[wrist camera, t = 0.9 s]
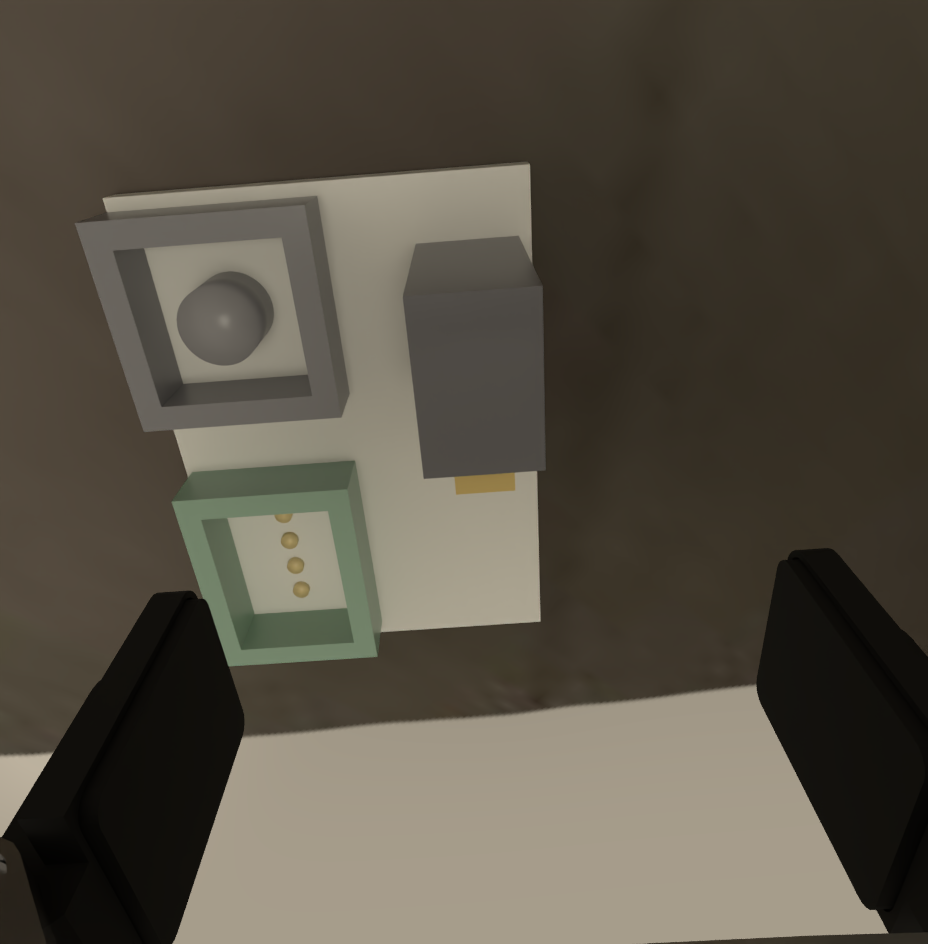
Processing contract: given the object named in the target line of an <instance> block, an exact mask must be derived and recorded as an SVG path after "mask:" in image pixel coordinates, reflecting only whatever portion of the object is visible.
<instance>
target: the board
mask: <svg viewBox="0 0 928 944" xmlns="http://www.w3.org/2000/svg"><path fill="white" fill-rule="evenodd" d="M103 201H104V204H105V208H106V211H107V213H104V214H101V215H98V216H95V217H92V218H89V219H86V220H83V221H80V222H77V223H75V225H76V228H77V231H78V234H79V237H80V240H81V243H82V246H83V249H84V252H85V255H86V258H87V261H88V264H89V267H90V270H91V273H92V276H93V280H94V283H95V286H96V289H97V292H98V295H99V298H100V301H101V304H102V307H103V310H104V313H105V316H106V319H107V322H108V325H109V328H110V331H111V334H112V337H113V340H114V343H115V346H116V349H117V352H118V355H119V358H120V361H121V364H122V367H123V370H124V373H125V376H126V379H127V382H128V385H129V388H130V391H131V395H132V398H133V401H134V404H135V407H136V410H137V413H138V416H139V419H140V422H141V425H142V428H143V431H144V432H149V431H163V430H174V433H175V436H176V439H177V442H178V446H179V449H180V452H181V456H182V459H183V462H184V465H185V469H186V472H187V475H188V477H189V476H190V474H191V473H192V472H200V471H214V470H228V469H242V468H256V467H270V466H284V465H298V464H312V463H327V462H341V461H355V463H356V469H357V474H358V480H359V486H360V492H361V498H362V504H363V510H364V516H365V522H366V528H367V534H368V540H369V546H370V552H371V557H372V563H373V569H374V575H375V581H376V587H377V593H378V599H379V605H380V611H381V617H382V626H381V632H389V631H404V630H419V629H434V628H450V627H465V626H480V625H495V624H511V623H526V622H540V582H539V538H538V494H537V471H530V472H516V473H515V491H502V492H487V493H473V494H459V495H456V490H455V478H454V477H445V478H431V479H424V477H423V469H422V460H421V451H420V443H419V434H418V425H417V417H416V408H415V399H414V391H413V382H412V373H411V365H410V356H409V347H408V339H407V330H406V321H405V313H404V304H403V293H404V289H405V285H406V281H407V277H408V273H409V269H410V265H411V261H412V257H413V253H414V249H415V245H416V244H418V243H431V242H444V241H457V240H470V239H482V238H495V237H508V236H519V238H520V240H521V242H522V244H523V246H524V248H525V250H526V252H527V254H528V256H529V258H530V260H531V262H532V233H531V189H530V164H529V163H528V162H514V163H502V164H489V165H477V166H464V167H452V168H439V169H427V170H414V171H402V172H389V173H377V174H364V175H352V176H339V177H327V178H314V179H301V180H289V181H276V182H264V183H251V184H239V185H226V186H214V187H201V188H189V189H176V190H164V191H151V192H139V193H126V194H116V195H112V196H109V197H105V198H103ZM227 519H228V522H229V526H230V529H231V533H232V536H233V540H234V544H235V547H236V551H237V554H238V558H239V561H240V565H241V568H242V572H243V575H244V579H245V582H246V586H247V589H248V593H249V596H250V600H251V603H252V607H253V610H254V614H266V613H281V612H296V611H311V610H326V609H341V608H347V605H346V600H345V595H344V590H343V585H342V580H341V575H340V570H339V565H338V559H337V554H336V549H335V544H334V539H333V534H332V529H331V524H330V519H329V514H328V511H321V512H306V513H293V515H292V518H291V520H290V521H289V522H287V523H280V522H278V521H277V520H276V519H275V517H274V515H263V516H249V517H234V518H227ZM286 532H293V533H295V534H296V535H297V536H298V538H299V541H298V544H297V546H296V547H295V548H293V549H287V548H284V547H283V546H282V544H281V538H282V536H283V534H284V533H286ZM293 557H298V558H301V559H302V560H303V561H304V568H303V571H302V572H301V573H299V574H293V573H291V572H289V571H288V569H287V564H288V561H289V560H290V559H291V558H293ZM300 581H302V582H306V583H307V584H308V585H309V586H310V591H309V594H308V596H306V597H304V598H299V597H297V596H295V595H294V593H293V588H294V585H295V584H296V583H297V582H300Z"/></svg>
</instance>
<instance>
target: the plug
mask: <svg viewBox="0 0 928 944" xmlns="http://www.w3.org/2000/svg"><path fill="white" fill-rule="evenodd" d="M403 304H404V313H405V321H406V330H407V339H408V347H409V356H410V365H411V373H412V382H413V391H414V399H415V408H416V417H417V425H418V434H419V443H420V451H421V460H422V469H423V477H424V479H431V478H445V477H454V478H455V490H456V495H459V494H473V493H487V492H502V491H515V473H516V472H530V471H545V470H546V460H545V397H544V334H543V285H542V283H541V281H540V279H539V277H538V275H537V273H536V271H535V269H534V267H533V265H532V262H531V260H530V258H529V256H528V254H527V252H526V250H525V248H524V246H523V244H522V242H521V240H520V238H519V236H508V237H495V238H482V239H470V240H457V241H444V242H431V243H418V244H416V245H415V249H414V253H413V257H412V261H411V265H410V269H409V273H408V277H407V281H406V285H405V289H404V293H403Z"/></svg>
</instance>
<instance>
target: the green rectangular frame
mask: <svg viewBox="0 0 928 944" xmlns="http://www.w3.org/2000/svg"><path fill="white" fill-rule="evenodd" d="M172 504H173V507H174V511H175V514H176V517H177V520H178V523H179V526H180V529H181V532H182V535H183V538H184V541H185V544H186V547H187V550H188V553H189V556H190V560H191V563H192V566H193V569H194V572H195V575H196V578H197V581H198V584H199V587H200V590H201V593H202V596H203V599H205V600H206V601H207V603H208V605H209V608H210V611H211V614H212V617H213V620H214V623H215V626H216V629H217V632H218V635H219V639H220V642H221V645H222V648H223V651H224V654H225V657H226V660H227V663H228V666H242V665H257V664H273V663H288V662H304V661H319V660H334V659H350V658H365V657H377V656H378V649H379V641H380V634H381V626H382V617H381V611H380V605H379V599H378V593H377V587H376V581H375V575H374V569H373V563H372V557H371V552H370V546H369V540H368V534H367V528H366V522H365V516H364V510H363V504H362V498H361V492H360V486H359V480H358V474H357V469H356V463H355V461H341V462H327V463H312V464H298V465H284V466H270V467H256V468H242V469H228V470H214V471H200V472H192V473H191V474H190V476H189V477H188V479H187V480H186V482H185V483H184V484H183V486H182V487H181V489H180V490H179V492H178V493H177V495H176V496H175V497H174V499H173V500H172ZM321 511H328V514H329V519H330V524H331V529H332V534H333V539H334V544H335V549H336V554H337V559H338V565H339V570H340V575H341V580H342V585H343V590H344V595H345V600H346V605H347V608H341V609H326V610H311V611H296V612H281V613H266V614H254V610H253V607H252V603H251V600H250V596H249V593H248V589H247V586H246V582H245V579H244V575H243V572H242V568H241V565H240V561H239V558H238V554H237V551H236V547H235V544H234V540H233V536H232V533H231V529H230V526H229V522H228V519H227V518H234V517H249V516H263V515H274V517H275V519H276V520H277V521H278V522H280V523H287V522H289V521H290V520H291V518H292V515H293V513H306V512H321ZM298 541H299V538H298V536H297V535H296V534H295V533H293V532H286V533H284V534H283V536H282V538H281V544H282V546H283V547H284V548H287V549H293V548H295V547H296V546H297V544H298ZM303 568H304V561H303V560H302V559H301V558H298V557H293V558H291V559H290V560H289V561H288V564H287V569H288V571H289V572H291V573H293V574H299V573H301V572H302V571H303ZM309 591H310V586H309V585H308V584H307V583H306V582H302V581H300V582H297V583H296V584H295V585H294V588H293V593H294V595H295V596H297V597H299V598H304V597H306V596H308V594H309Z"/></svg>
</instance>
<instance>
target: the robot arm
mask: <svg viewBox="0 0 928 944" xmlns="http://www.w3.org/2000/svg"><path fill="white" fill-rule="evenodd" d="M756 684H757V693H758V697H759V700H760V703H761V705H762V707H763V709H764V711H765V713H766V715H767V717H768V719H769V721H770V723H771V725H772V727H773V729H774V731H775V733H776V735H777V737H778V739H779V741H780V742H781V744H782V746H783V748H784V751H785V752H786V754H787V756H788V758H789V760H790V762H791V764H792V766H793V768H794V770H795V772H796V774H797V776H798V778H799V780H800V782H801V784H802V786H803V788H804V790H805V792H806V794H807V796H808V798H809V800H810V802H811V804H812V806H813V808H814V810H815V812H816V814H817V816H818V818H819V820H820V822H821V823H822V826H823V827H824V830H825V832H826V833H827V836H828V837H829V840H830V841H831V843H832V845H833V847H834V849H835V851H836V853H837V855H838V857H839V859H840V861H841V863H842V865H843V867H844V869H845V871H846V873H847V875H848V877H849V879H850V881H851V883H852V885H853V887H854V889H855V891H856V893H857V895H858V897H859V898H860V900H861V902H862V903H863V904H864V906H865V907H866V908H868V909H869V910H877V912H878V914H879V916H880V918H881V919H882V921H883V923H884V925H885V927H886V929H887V931H888V933H889V934H855V935H822V936H795V937H774V938H755V939H754V938H753V939H732V940H711V941H691V942H670V943H649V944H928V657H927V656H926V655H925V653H924V652H923V651H922V650H921V649H920V647H919V646H918V645H917V644H916V643H915V642H914V640H913V639H912V638H911V637H910V636H909V635H908V634H907V633H906V632H904V631H903V630H901V629H900V628H899V626H898V625H897V624H896V623H895V622H894V620H893V619H892V618H891V617H890V616H889V614H888V613H887V612H886V611H885V610H884V608H883V607H882V606H881V605H880V604H879V603H878V601H877V600H876V599H875V598H874V597H873V595H872V594H871V593H870V592H869V591H868V589H867V588H866V587H865V586H864V585H863V583H862V582H861V581H860V580H859V579H858V578H857V576H856V575H855V574H854V573H853V572H852V570H851V569H850V568H849V567H848V566H847V564H846V563H845V562H844V561H843V560H842V558H841V557H840V556H839V555H838V554H837V553H836V552H835V551H834V550H833V549H830V548H824V549H809V550H795V551H792V552H791V553H790V555H789V557H788V560H782V561H780V563H779V564H778V567H777V572H776V578H775V583H774V589H773V594H772V600H771V605H770V610H769V616H768V621H767V627H766V632H765V637H764V643H763V648H762V654H761V659H760V665H759V670H758V675H757V683H756ZM243 732H244V713H243V709H242V706H241V703H240V700H239V697H238V694H237V691H236V688H235V685H234V682H233V679H232V675H231V672H230V669H229V666H228V663H227V660H226V657H225V654H224V651H223V648H222V645H221V642H220V639H219V635H218V632H217V629H216V626H215V623H214V620H213V617H212V614H211V611H210V608H209V605H208V603H207V601H206V600H205V599H198V598H197V596H196V594H195V593H194V592H193V591H178V592H163V593H156V594H154V595H153V596H152V597H151V599H150V600H149V602H148V603H147V605H146V607H145V608H144V610H143V612H142V613H141V615H140V617H139V618H138V620H137V622H136V623H135V625H134V627H133V628H132V630H131V632H130V633H129V635H128V637H127V638H126V640H125V641H124V643H123V645H122V646H121V648H120V650H119V651H118V653H117V655H116V656H115V658H114V660H113V661H112V663H111V665H110V666H109V668H108V670H107V671H106V673H105V675H104V676H103V678H102V679H101V681H99V682H98V683H97V684H96V685H95V687H94V688H93V689H92V691H91V692H90V694H89V695H88V697H87V699H86V700H85V702H84V704H83V705H82V707H81V709H80V710H79V712H78V713H77V715H76V717H75V718H74V720H73V722H72V723H71V725H70V727H69V728H68V730H67V731H66V733H65V735H64V736H63V738H62V740H61V741H60V743H59V745H58V746H57V748H56V749H55V751H54V753H53V754H52V756H51V758H50V759H49V761H48V763H47V764H46V766H45V767H44V769H43V771H42V772H41V774H40V776H39V777H38V779H37V781H36V782H35V784H34V786H33V787H32V789H31V791H30V792H29V794H28V796H27V797H26V799H25V800H24V802H23V804H22V805H21V807H20V809H19V810H18V812H17V813H16V815H15V817H14V818H13V820H12V822H11V823H10V825H9V826H8V828H7V830H6V831H5V833H4V835H3V836H2V837H0V944H172V943H173V941H174V940H175V937H176V935H177V932H178V929H179V926H180V923H181V920H182V917H183V914H184V911H185V908H186V905H187V902H188V899H189V896H190V893H191V890H192V887H193V884H194V881H195V878H196V875H197V871H198V869H199V866H200V862H201V859H202V857H203V854H204V851H205V848H206V845H207V842H208V839H209V835H210V833H211V829H212V827H213V823H214V820H215V817H216V814H217V811H218V808H219V805H220V802H221V799H222V796H223V793H224V790H225V787H226V784H227V781H228V778H229V775H230V772H231V769H232V766H233V763H234V760H235V757H236V754H237V751H238V748H239V745H240V742H241V739H242V736H243Z"/></svg>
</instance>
